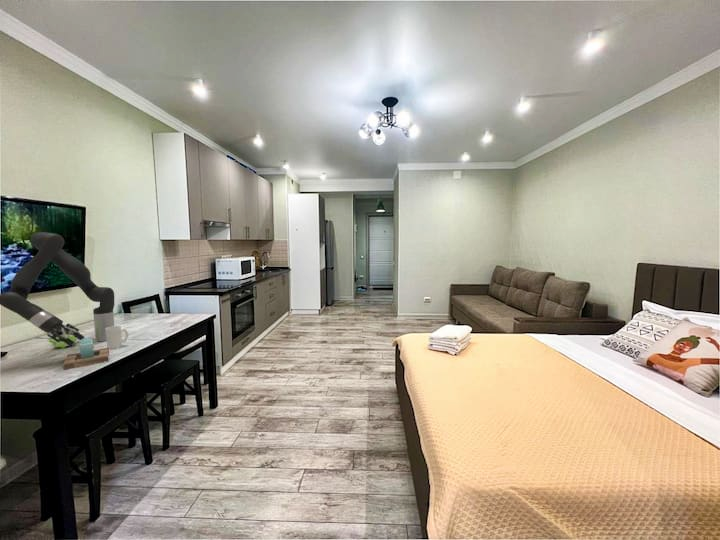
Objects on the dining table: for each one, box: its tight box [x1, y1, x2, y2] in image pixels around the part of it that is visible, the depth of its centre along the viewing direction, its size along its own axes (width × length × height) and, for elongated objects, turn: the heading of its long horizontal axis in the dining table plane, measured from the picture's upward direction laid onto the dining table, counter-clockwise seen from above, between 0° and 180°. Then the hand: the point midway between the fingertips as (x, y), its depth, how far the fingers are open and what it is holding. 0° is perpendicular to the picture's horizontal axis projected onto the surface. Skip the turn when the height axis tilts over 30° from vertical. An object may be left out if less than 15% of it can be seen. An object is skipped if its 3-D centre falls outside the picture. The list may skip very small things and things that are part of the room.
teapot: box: [47, 331, 80, 349], centre depth 164 cm, size 11×12×8 cm
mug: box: [106, 325, 129, 350], centre depth 164 cm, size 10×7×12 cm, turn 114°
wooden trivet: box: [62, 347, 110, 371], centre depth 146 cm, size 16×16×2 cm
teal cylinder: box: [79, 337, 95, 360], centre depth 145 cm, size 5×5×11 cm
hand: (77, 341), depth 144 cm, fingers open, 8 cm apart
